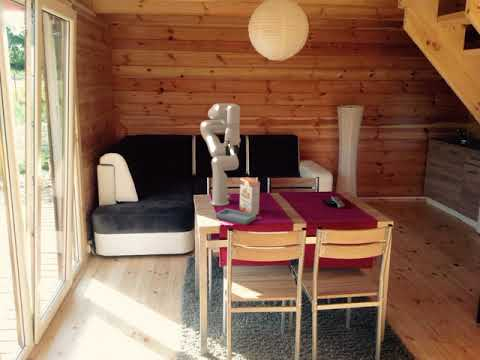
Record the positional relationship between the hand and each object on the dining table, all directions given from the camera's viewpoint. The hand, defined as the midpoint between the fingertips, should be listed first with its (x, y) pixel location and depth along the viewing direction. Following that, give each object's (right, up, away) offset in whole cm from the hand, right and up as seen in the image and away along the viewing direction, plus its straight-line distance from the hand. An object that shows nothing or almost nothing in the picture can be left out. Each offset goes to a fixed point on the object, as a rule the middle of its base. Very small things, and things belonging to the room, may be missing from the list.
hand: (232, 154), depth 272 cm
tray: (+2, -38, -3) cm, 38 cm away
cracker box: (+10, -35, +10) cm, 38 cm away
